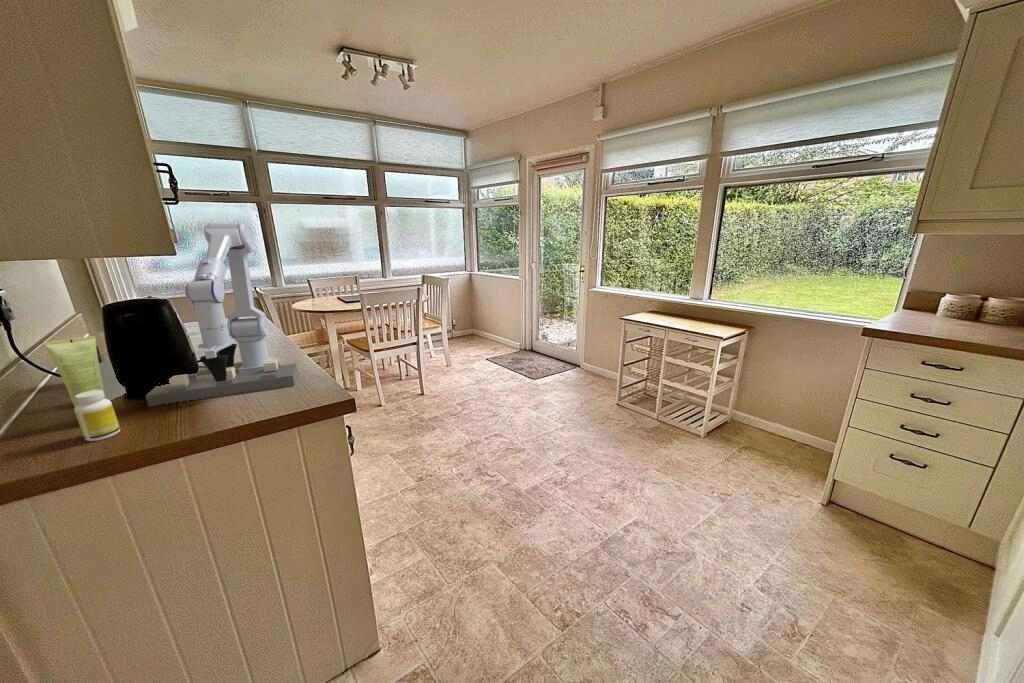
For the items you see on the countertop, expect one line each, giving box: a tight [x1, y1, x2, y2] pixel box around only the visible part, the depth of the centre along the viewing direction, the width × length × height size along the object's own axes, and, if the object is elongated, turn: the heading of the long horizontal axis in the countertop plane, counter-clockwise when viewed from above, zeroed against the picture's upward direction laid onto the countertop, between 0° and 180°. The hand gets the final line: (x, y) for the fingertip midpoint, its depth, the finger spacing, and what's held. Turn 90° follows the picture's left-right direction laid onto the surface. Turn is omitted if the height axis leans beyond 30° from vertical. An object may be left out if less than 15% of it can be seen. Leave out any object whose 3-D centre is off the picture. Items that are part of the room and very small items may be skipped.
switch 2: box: [263, 358, 279, 372], centre depth 110 cm, size 3×3×3 cm
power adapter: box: [99, 353, 127, 401], centre depth 98 cm, size 3×5×12 cm, turn 177°
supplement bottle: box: [73, 390, 121, 442], centre depth 80 cm, size 5×5×10 cm
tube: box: [43, 335, 107, 408], centre depth 86 cm, size 6×5×20 cm
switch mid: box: [226, 366, 236, 379], centre depth 104 cm, size 3×3×3 cm
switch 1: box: [168, 373, 190, 387], centre depth 99 cm, size 3×3×3 cm
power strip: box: [145, 363, 299, 408], centre depth 105 cm, size 11×32×4 cm, turn 114°
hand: (225, 375), depth 102 cm, fingers open, 7 cm apart
